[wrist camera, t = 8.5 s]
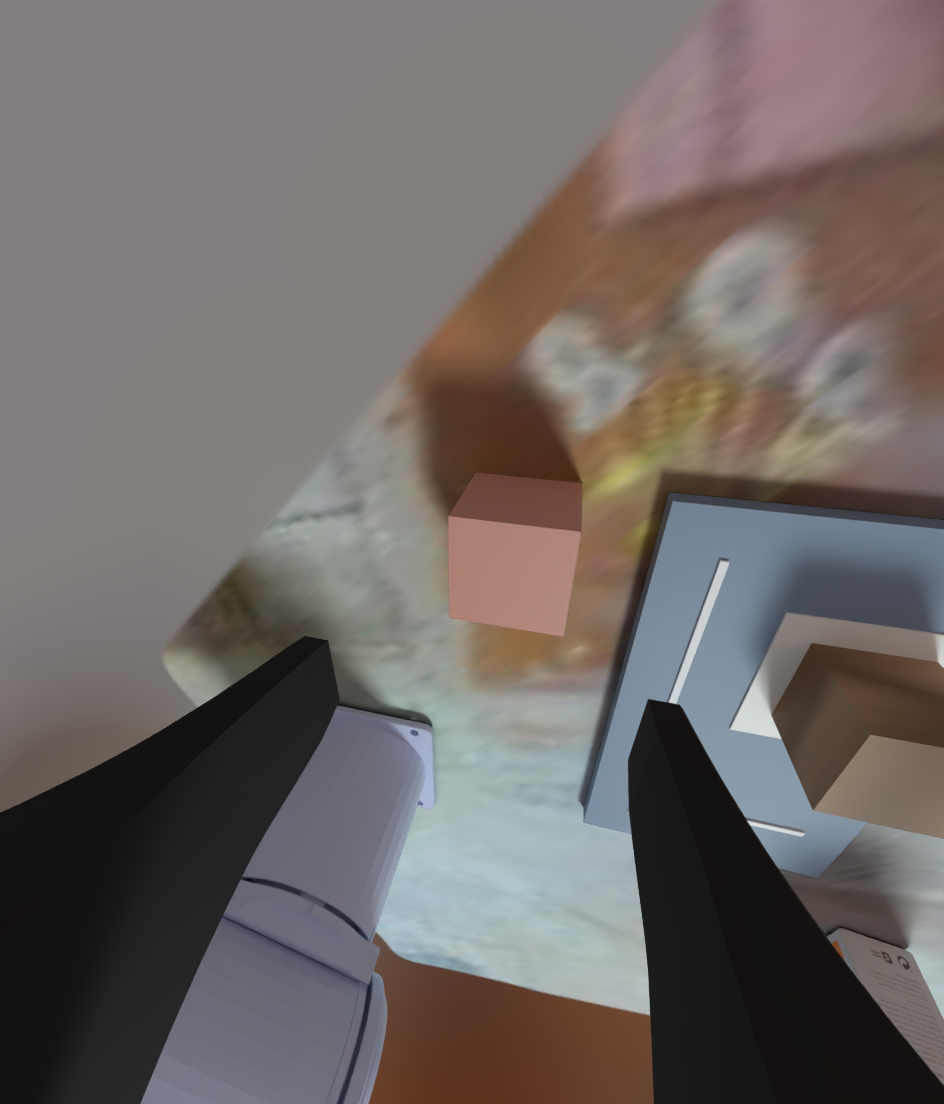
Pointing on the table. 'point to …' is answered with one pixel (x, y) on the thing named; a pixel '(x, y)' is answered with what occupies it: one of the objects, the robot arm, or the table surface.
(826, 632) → the board
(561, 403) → the table surface
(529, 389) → the table surface
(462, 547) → the brick red block
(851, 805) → the walnut block
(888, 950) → the skincare box
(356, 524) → the table surface
